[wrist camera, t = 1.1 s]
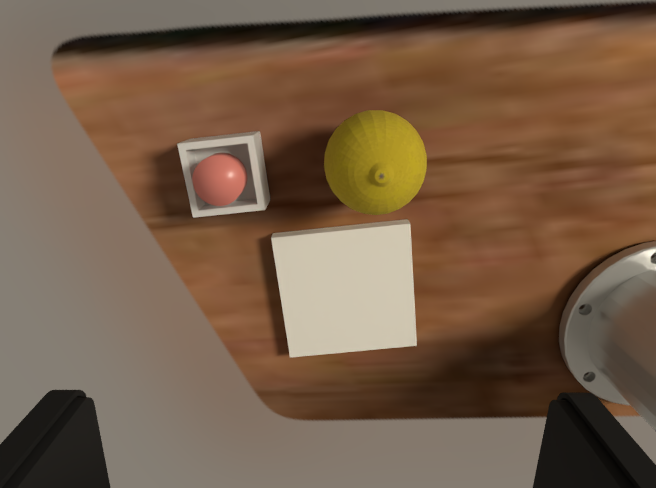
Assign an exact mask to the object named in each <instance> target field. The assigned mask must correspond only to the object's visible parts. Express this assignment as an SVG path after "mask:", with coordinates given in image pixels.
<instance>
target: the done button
mask: <svg viewBox="0 0 656 488" xmlns="http://www.w3.org/2000/svg"><path fill="white" fill-rule="evenodd" d="M192 181H193V186H194V189H195V191H196V193H197V195H198V196H199V197H200V198H201V199H202V200H203V201H205V202H206V203H208V204H211V205H215V206H224V205H228V204H230V203H232V202H233V201H235V200H236V199H237V198H238V196H239V195H240V194H241V193H242V192H243V190H244V189H245V187H246V184H247V172H246V169H245V166H244V165H243V163H242V162H241V161H240V160H239V159H238V158H237V157H235V156H234V155H231V154H229V153H216V154H213V155H211V156H209V157H207V158H206V159H204V160H202V161H201V162H200V163H199V164H198V165H197V166H196V168H195V170H194V172H193V178H192Z"/></svg>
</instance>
